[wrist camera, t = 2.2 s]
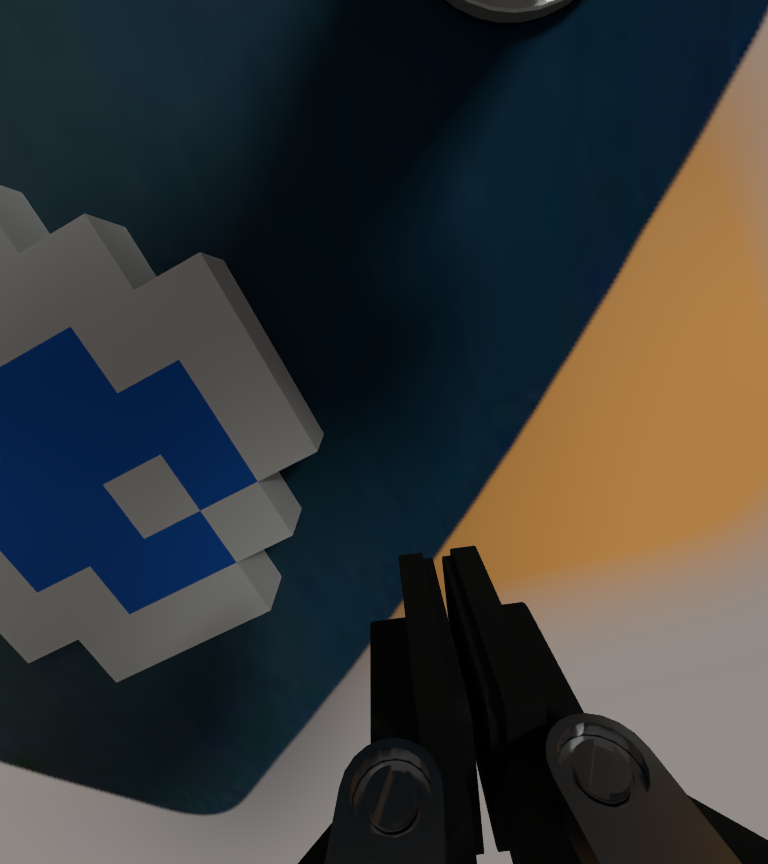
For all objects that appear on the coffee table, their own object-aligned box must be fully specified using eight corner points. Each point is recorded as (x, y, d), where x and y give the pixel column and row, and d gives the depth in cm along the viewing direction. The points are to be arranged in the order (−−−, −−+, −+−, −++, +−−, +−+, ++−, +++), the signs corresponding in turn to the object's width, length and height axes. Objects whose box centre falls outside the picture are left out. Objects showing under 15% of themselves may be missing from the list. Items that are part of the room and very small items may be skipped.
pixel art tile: (100, 84, 20) (380, 558, 27) (145, 121, 23) (379, 527, 31) (-342, 366, 22) (20, 727, 30) (-238, 357, 26) (60, 679, 33)
